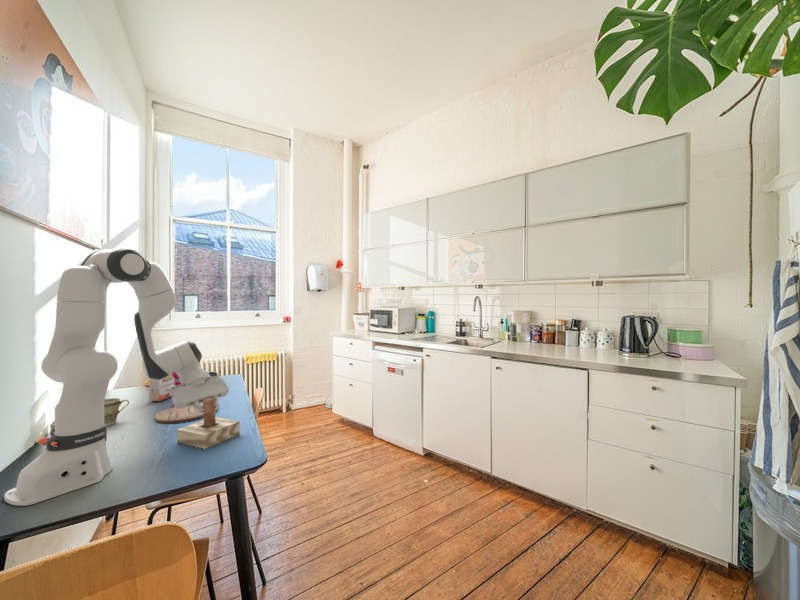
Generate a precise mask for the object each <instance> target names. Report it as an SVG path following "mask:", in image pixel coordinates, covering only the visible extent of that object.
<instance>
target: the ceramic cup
mask: <svg viewBox="0 0 800 600" xmlns="http://www.w3.org/2000/svg"><path fill="white" fill-rule="evenodd" d="M124 402H127V403H126V405H125V406H123V407H122V408H121V409H120V408H119V407H120V406H121V405H122V403H124ZM129 404H130V401H129V400H128V399H122V400H121V398H118V397H117V398H116V397H114V398H113V397H112V398H105V401H104V424H106V427H108V426H107V425H109V426H112V425H115V424H117V423H116V422H117V417H118V415H119V414H120V413H121V412H122V411H123V410H124V409H125V408H126V407H127V406H128V405H129ZM119 409H120V410H119ZM114 423H115V424H114ZM111 424H112V425H111Z"/></svg>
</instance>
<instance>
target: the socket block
mask: <svg viewBox="0 0 800 600" xmlns="http://www.w3.org/2000/svg"><path fill="white" fill-rule="evenodd" d="M215 419H216V424H215V425H212V426H204V419H203V420H201V421H200V420H199V421H198V422H194V423H191V424H189V425H186V426H183V427H181V428H177V429H176V432H177V434H176V437H177V440H176V441H177V442H179V443H178V444H180V443H183V444H182V445H185V444H187V445H186V446H189V445H191V446H190V447H193V446H195V447H194V448H197V447H199V448H198V449H201V448H203V449H202V450H206V449H208V447H209V448H211V447H213V446H216V445H218V444H220V443H222V441H223V442H224V441H227V440H229V439H231V437H232V438H234V437H236V436H238V435H240V434H241V430H240V429H241V427H240V426H241V425H240V421H239V420H233V419H227V418H224V417H223V418H222V417H217V416H215ZM217 443H218V444H217ZM215 444H216V445H215ZM212 445H213V446H212ZM210 446H211V447H210ZM205 448H206V449H205Z"/></svg>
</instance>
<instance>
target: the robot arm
mask: <svg viewBox="0 0 800 600" xmlns="http://www.w3.org/2000/svg"><path fill="white" fill-rule="evenodd" d="M125 282H126V283H127V284H129V285H130V286H131V288H132V289H133V290H134V294H135V295H136V298H137V300H138V310H137V312H135V314H134V317H133V318H134V320H133V321H134V326H135V331H136V332H135V333H136V336H137V341H138V345H139V348H140V353H141V356H142V357H141V358H142V369H143V373H145V376H146V377H148V378H151V379H157V380H161V379H163V378H164V377H166V376H168V375H169V374H172V373H174V372H175V373H176V374H177V375H178V376H179V381H180V383H181V384H180V385H177V386H172V387H171V388H170V389H169V394H170V396H172V398H171V400H172V405H173V404H174V406H173V407H175V408H177V409H180V408H184V407H188V406H191V405H193V407H194V408H196V409H198V410H199V412H200V413H202V412H205V410H206V408H205V407H204V406H201V405H199V403H203V399H204V398H208V397H215V408H217V409H218V408H219V407H220V404H219V399H220V398H223V397H227V395H228V393H229V391H230V388H229V386H228V384H227V383H226V381H225V380H224V379H223V378H222V377H220V372H218V371H207V370H204V369H203V368H202V367H201V366H200V363H201V361H202V358H203V355H202V353H201V351H200V349H199V348H198V346H197V344H196V342H193V341H191V340H184V341H181V342H178V343H176V344H173V345H171V346H169V347H166V348H164V349H161V350H158V351H156V350H155V346H154V342H153V338H152V330H153V328H154V326H155V325H157V323H159V322H160V321H161V320H162V319H164V318H165V317H167V316H168V315H169V314H170V313H171V312H172V311H173V310H174V308H175V306H176V304H177V297H176V293H175V290H174V288H173V286H172V283H171V282H170V280H169V278H168V276H167V274H166V273H165V271H164V270H163V269H162V266H161V265H160V264H158V263H156V262H153V261H148V260H147V259H146V258H145V256H144V255H143V254H142V253H140V252H139V251H137V250H134V249H133V248H126V247H125V248H123V247H122V248H108V249H107V248H106V249H102V250H96V251H94V252H92V253H90V254H88V256H86V257H85V259H84V260H83V262H82V263H81V264H80V265H76V266H71V267H68V268H66V269H65V270H63V272H62V273H61V276H60V280H59V284H58V288H57V296H56V310H55V325H54V326H55V327H54V332H53V336H52V339H51V341H50V345H49V348H48V352H47V353H46V355H45V356H44V358H43V359H42V362H41V370H42V372H43V374H44V375H45V376H46V377H47V378H49V379H50V380H52V381H54V382H57V383H61V384H62V392H61V395H60V398H59V401H58V402H57V404H56V406H55V407H54V434H53V435H52V436H51V437H50V438H48V437H45V436H42V437H41V438H39V440H38V441H37V444H39V445H41V446H45V447H46V450H44V451H43V452H41V454H40V455H38V456H37V457H36V458H34V459H33V460H32V461H31V462H30V463H29V464H27V465H26V466H25V467H24V468H22V469H21V470H20V472H19V474H18V477H17V479H16V486H15V487H13V488H11V489H9V490H6V492H5V493H4V495H3V500H4V501H5V503H7V504H9V505H11V506H17V507H18V506H22V507H23V506H32V505H35V504H38V503H40V502H43V501H46V500H49V499H53V498H55V497H58V496H61V495H64V494H66V493H69V492H73V491H76V490H79V489H81V488H85V487H88V486H90V485H93V484H96V483H99V482H101V481H103V479H104V477H105V476H106V475H107V474H109V473H110V472H111V471H112V469H113V467H112V464H111V461H110V459H109V455H108V450H107V444H106V442H107V435H108V430H107V426H106V424H104V401H105V399H106V395H107V391H108V388H109V384H110V381H111V379H112V378H113V377H114V376H115V375H116V373H117V370H118V361H117V359H116V357H115V356H114V355H113V354H112V353H110V352H108V351H105V350H103V349H100V348H96V345H97V341H98V338H99V336H100V334H101V332H103V330H104V329H105V327H106V305H107V304H106V302H107V301H106V300H107V297H106V294H107V290H108V287H109V285H111V283H113V284H114V283H115V284H117V283H125Z"/></svg>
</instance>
